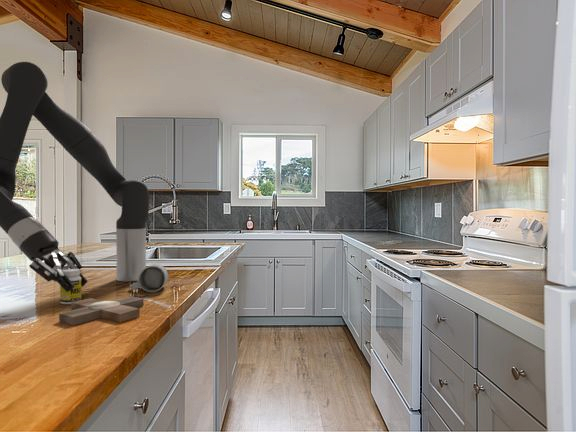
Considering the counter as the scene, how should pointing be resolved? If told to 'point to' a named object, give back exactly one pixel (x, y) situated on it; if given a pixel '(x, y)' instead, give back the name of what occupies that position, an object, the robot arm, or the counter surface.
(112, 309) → the walnut cross joint
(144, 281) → the ceramic mug
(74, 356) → the counter surface
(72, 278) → the supplement bottle
